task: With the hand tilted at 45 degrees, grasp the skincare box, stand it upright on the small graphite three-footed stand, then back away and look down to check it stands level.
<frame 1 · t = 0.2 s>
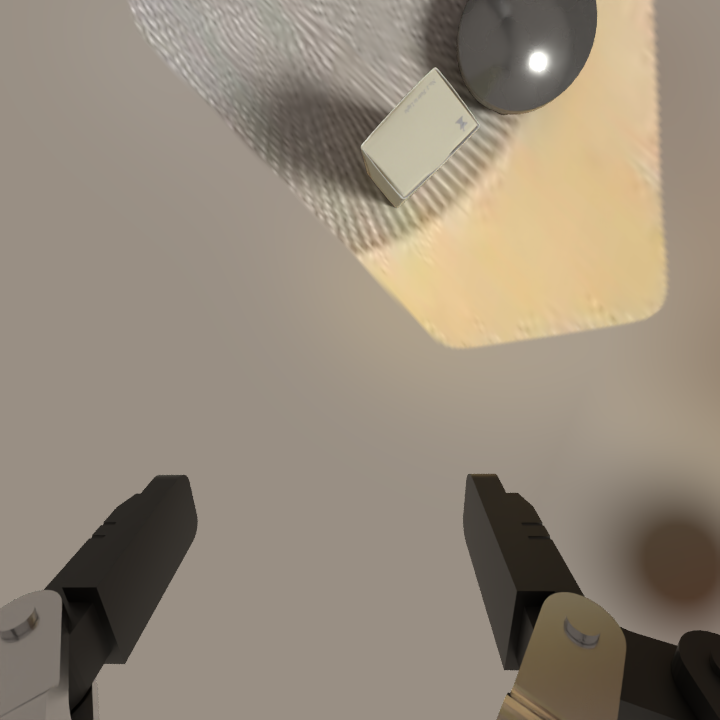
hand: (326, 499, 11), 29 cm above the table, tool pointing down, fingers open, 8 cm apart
skincare box: (406, 169, 34), on the table
level stand: (513, 51, 31), on the table
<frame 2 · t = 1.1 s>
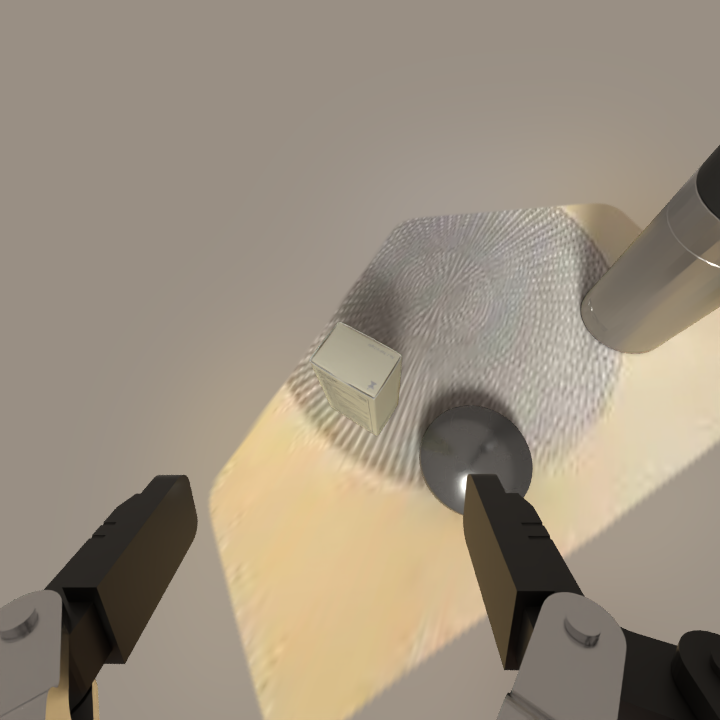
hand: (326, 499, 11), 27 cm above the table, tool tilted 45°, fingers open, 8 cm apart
skincare box: (362, 405, 40), on the table
level stand: (468, 463, 37), on the table
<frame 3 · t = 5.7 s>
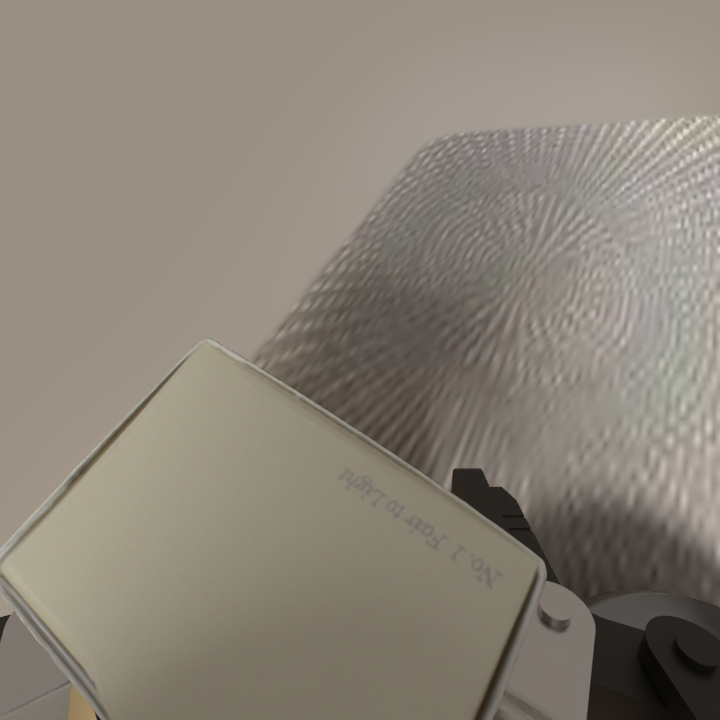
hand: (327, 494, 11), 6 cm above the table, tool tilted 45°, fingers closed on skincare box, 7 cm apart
skincare box: (343, 544, 16), on the table, touching gripper
when the fingers open (10 cm above the table, at t = 11.6 s): skincare box drops 1 cm, resting on level stand.
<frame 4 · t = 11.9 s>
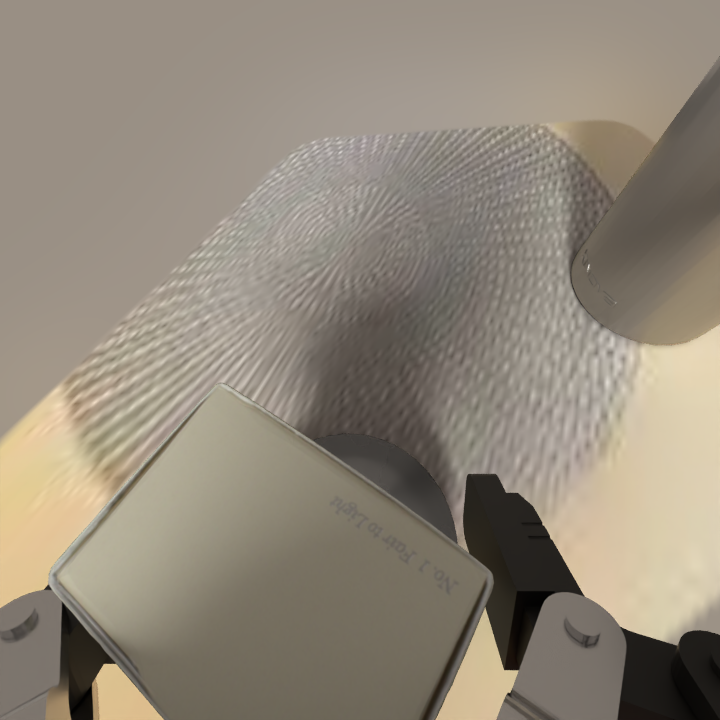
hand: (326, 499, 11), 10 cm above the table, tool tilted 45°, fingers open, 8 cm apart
skincare box: (340, 548, 17), point 3 cm above the table, touching gripper, level stand
level stand: (349, 542, 20), on the table
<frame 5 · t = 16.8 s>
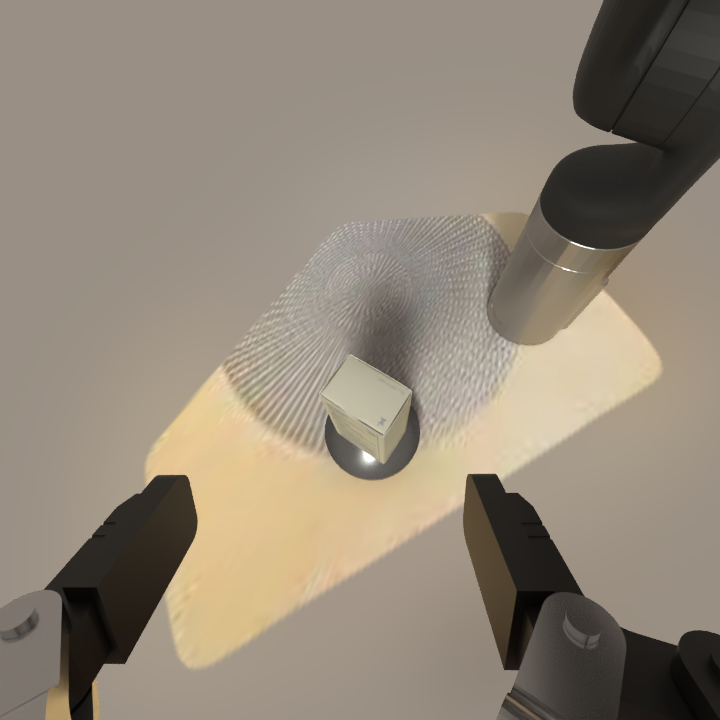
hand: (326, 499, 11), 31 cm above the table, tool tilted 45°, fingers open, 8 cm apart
skincare box: (369, 432, 40), point 3 cm above the table, touching level stand
level stand: (372, 436, 42), on the table
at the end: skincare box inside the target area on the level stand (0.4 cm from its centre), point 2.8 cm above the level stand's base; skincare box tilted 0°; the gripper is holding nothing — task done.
